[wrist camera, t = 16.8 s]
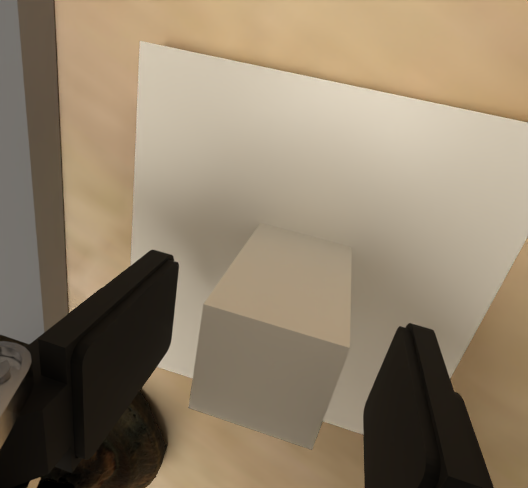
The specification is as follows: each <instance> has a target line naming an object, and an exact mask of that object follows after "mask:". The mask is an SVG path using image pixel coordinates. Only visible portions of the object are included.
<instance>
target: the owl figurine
mask: <svg viewBox="0 0 528 488" xmlns="http://www.w3.org/2000/svg"><path fill="white" fill-rule="evenodd" d="M0 341H7V342H13V343H17V344H20V345H22V346H24V347H27V346H28V345H29V344H27V343H24V342H21V341H18V340H15V339H12V338H9V337H6V336H3V335H0ZM166 448H167V444H166V445H165V443H164V440H163V437H162V434H161V431H160V430H159V427H158V425H157V424H156V422H155V420H154V417H153V415H152V413H151V409H150V406H149V404H148V403H147V402H146V401H145V399H144V396H143V395H142V394H141V393H140V391H139V392H138V394H137V395H136V396H135V398H134V399H133V401H132V402H131V403H130V405H129V406H128V408H127V409H126V410H125V412H124V413H123V415H122V416H121V417H120V419H119V420H118V422H117V423H116V424H115V426H114V427H113V429H112V430H111V431H110V433H109V434H108V436H107V437H106V438H105V440H104V441H103V443H102V444H101V445H100V447H99V448H98V450H97V451H96V452H95V454H94V455H93V456H92V457H91V458H90V459H89V460H85V459H82V460H81V462H80V463H79V464H78V466H77V467H76V468H75V470H74V471H73V473H70V472H67V471H65V470H62V469H59V468H57V467H54V468H53V469H52V470H51V472H50V473H49V474H47V475H45V476H42V477H41V479H40V481H39V484H38V486H37V488H145V487H147V486H148V485H149V484H150V483H151V482H152V481H153V479H154V478H156V475H157V474H158V470H159V469H160V467H161V464H162V460H163V457H164V454H165V451H166ZM46 478H49V479H50V478H51V479H53V480H55V481H57V482H59V483H57V482H52V481H47V480H48V479H47V480H46ZM66 481H68V482H69V483H68V484H65V482H66Z"/></svg>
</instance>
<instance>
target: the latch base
mask: <svg viewBox="0 0 528 488" xmlns="http://www.w3.org/2000/svg"><path fill="white" fill-rule="evenodd" d="M67 314H68V299H67V277H66V256H65V234H64V213H63V191H62V170H61V148H60V127H59V105H58V84H57V62H56V41H55V19H54V0H0V335H3V336H6V337H9V338H12V339H15V340H18V341H21V342H24V343H27V344H30V343H32V342H33V341H34V340H36V339H37V338H38V337H39V336H41V335H42V334H43V333H44V332H46V331H47V330H48V329H50V328H51V327H52V326H53V325H55V324H56V323H57V322H59V321H60V320H61V319H62V318H64V317H65V316H66V315H67Z"/></svg>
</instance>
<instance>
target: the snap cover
mask: <svg viewBox="0 0 528 488" xmlns="http://www.w3.org/2000/svg"><path fill="white" fill-rule="evenodd" d="M527 237H528V122H523V121H519V120H514V119H509V118H504V117H500V116H495V115H490V114H485V113H481V112H476V111H471V110H466V109H462V108H457V107H452V106H447V105H443V104H438V103H433V102H428V101H424V100H419V99H414V98H409V97H405V96H400V95H395V94H390V93H386V92H381V91H376V90H371V89H367V88H362V87H357V86H352V85H348V84H343V83H338V82H333V81H329V80H324V79H319V78H314V77H310V76H305V75H300V74H295V73H291V72H286V71H281V70H276V69H272V68H267V67H262V66H257V65H253V64H248V63H243V62H238V61H234V60H229V59H224V58H219V57H215V56H210V55H205V54H200V53H195V52H191V51H186V50H181V49H176V48H172V47H167V46H162V45H157V44H153V43H148V42H143V41H140V47H139V71H138V96H137V120H136V144H135V169H134V193H133V217H132V242H131V265H132V264H134V263H135V262H136V261H137V260H139V259H140V258H141V257H142V256H144V255H145V254H146V253H148V252H149V251H150V250H157V251H160V252H164V253H167V254H171V255H173V257H174V261H176V262H178V263H179V272H178V282H177V292H176V301H175V311H174V321H173V330H172V340H171V344H170V347H169V349H168V351H167V353H166V355H165V356H164V357H163V359H162V360H161V362H160V363H159V364H158V366H157V367H159V368H162V369H165V370H168V371H171V372H174V373H177V374H180V375H183V376H186V377H189V378H192V379H193V380H192V387H191V394H190V401H189V408H190V409H193V410H196V411H199V412H202V413H205V414H208V415H211V416H214V417H217V418H219V419H222V420H225V421H228V422H231V423H234V424H237V425H240V426H243V427H246V428H249V429H252V430H255V431H258V432H261V433H263V434H266V435H269V436H272V437H275V438H278V439H281V440H284V441H287V442H290V443H293V444H296V445H299V446H302V447H305V448H308V449H310V450H312V449H313V446H314V443H315V441H316V438H317V435H318V433H319V430H320V427H321V425H322V422H326V423H329V424H332V425H335V426H338V427H341V428H344V429H347V430H350V431H353V432H356V433H359V434H362V435H364V431H363V413H364V407H365V403H366V401H367V398H368V396H369V394H370V391H371V389H372V387H373V384H374V382H375V379H376V377H377V375H378V372H379V370H380V368H381V365H382V363H383V361H384V358H385V356H386V354H387V351H388V349H389V347H390V344H391V342H392V340H393V337H394V335H395V333H396V330H397V328H398V327H399V326H401V327H406V326H407V324H409V323H412V324H415V325H419V326H422V327H426V328H429V329H432V330H434V332H435V335H436V338H437V341H438V344H439V347H440V350H441V353H442V356H443V359H444V362H445V365H446V368H447V372H448V375H449V378H451V376H452V375H453V373H454V371H455V369H456V367H457V365H458V364H459V362H460V360H461V358H462V356H463V354H464V353H465V351H466V349H467V347H468V345H469V343H470V342H471V340H472V338H473V336H474V334H475V332H476V331H477V329H478V327H479V325H480V323H481V321H482V320H483V318H484V316H485V314H486V312H487V310H488V309H489V307H490V305H491V303H492V301H493V299H494V298H495V296H496V294H497V292H498V290H499V288H500V287H501V285H502V283H503V281H504V279H505V277H506V276H507V274H508V272H509V270H510V268H511V266H512V265H513V263H514V261H515V259H516V257H517V255H518V254H519V252H520V250H521V248H522V246H523V244H524V243H525V241H526V239H527Z"/></svg>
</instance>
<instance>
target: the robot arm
mask: <svg viewBox="0 0 528 488" xmlns="http://www.w3.org/2000/svg"><path fill="white" fill-rule="evenodd" d="M178 272H179V263H178V262H176V261H174V257H173V255H171V254H167V253H164V252H160V251H157V250H150V251H149V252H148V253H146V254H145V255H144V256H142V257H141V258H140V259H139V260H137V261H136V262H135V263H134V264H132V265H131V266H130V267H128V268H127V269H126V270H125V271H123V272H122V273H121V274H120V275H118V276H117V277H116V278H114V279H113V280H112V281H111V282H109V283H108V284H107V285H106V286H104V287H103V288H101V289H99V290H98V291H97V292H96V293H94V294H93V295H92V296H90V297H89V298H88V299H87V300H85V301H84V302H83V303H82V304H80V305H79V306H78V307H76V308H75V309H74V310H73V311H71V312H70V313H69V314H67V315H66V316H65V317H64V318H62V319H61V320H60V321H59V322H57V323H56V324H55V325H53V326H52V327H51V328H50V329H48V330H47V331H46V332H44V333H43V334H42V335H41V336H39V337H38V338H37V339H36V340H34V341H33V342H32V343H30V344H29V345H28V346H27V347H24V346H22V345H20V344H17V343H13V342H7V341H0V488H37V486H38V484H39V481H40V479H41V477H42V476H45V475H47V474H49V473H50V472H51V470H52V469H53V468H54V467H57V468H59V469H62V470H65V471H67V472H70V473H73V471H74V470H75V468H76V467H77V466H78V464H79V463H80V462H81V460H82V459H85V460H89V459H90V458H91V457H92V456H93V455H94V454H95V452H96V451H97V450H98V448H99V447H100V445H101V444H102V443H103V441H104V440H105V438H106V437H107V436H108V434H109V433H110V431H111V430H112V429H113V427H114V426H115V424H116V423H117V422H118V420H119V419H120V417H121V416H122V415H123V413H124V412H125V410H126V409H127V408H128V406H129V405H130V403H131V402H132V401H133V399H134V398H135V396H136V395H137V394H138V392H139V391H140V389H141V388H142V387H143V385H144V384H145V382H146V381H147V380H148V378H149V377H150V375H151V374H152V373H153V371H154V370H155V368H156V367H157V366H158V364H159V363H160V362H161V360H162V359H163V357H164V356H165V355H166V353H167V351H168V349H169V347H170V344H171V340H172V330H173V321H174V311H175V301H176V292H177V282H178ZM363 431H364V473H365V488H494V487H493V484H492V481H491V479H490V476H489V473H488V470H487V467H486V464H485V461H484V458H483V455H482V453H481V450H480V447H479V444H478V441H477V438H476V435H475V432H474V430H473V427H472V424H471V421H470V418H469V415H468V412H467V409H466V406H465V404H464V401H463V399H462V397H461V395H459V394H458V393H456V392H454V390H453V387H452V384H451V381H450V378H449V375H448V372H447V368H446V365H445V362H444V359H443V356H442V353H441V350H440V347H439V344H438V341H437V338H436V335H435V332H434V330H432V329H429V328H426V327H422V326H419V325H415V324H412V323H409V324H407V326H406V327H401V326H399V327H398V328H397V330H396V333H395V335H394V337H393V340H392V342H391V344H390V347H389V349H388V351H387V354H386V356H385V358H384V361H383V363H382V365H381V368H380V370H379V372H378V375H377V377H376V379H375V382H374V384H373V387H372V389H371V391H370V394H369V396H368V398H367V401H366V403H365V407H364V413H363Z"/></svg>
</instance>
